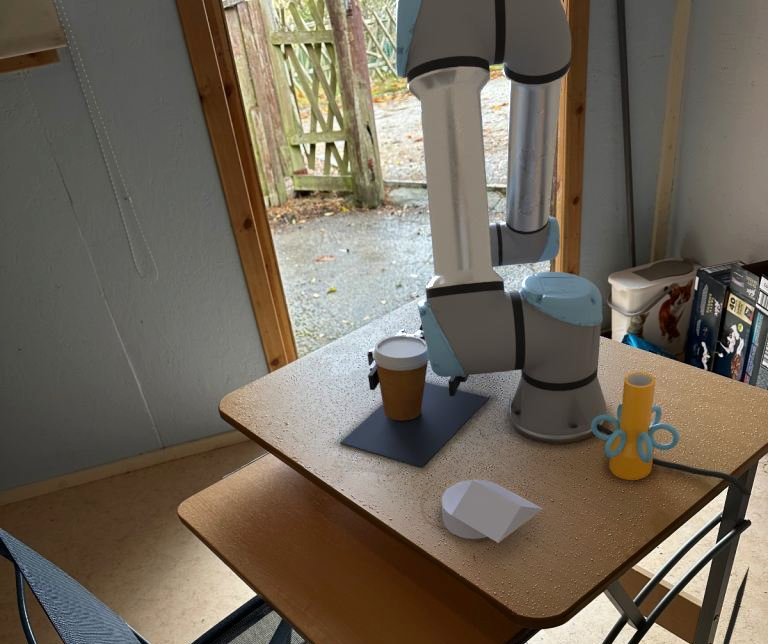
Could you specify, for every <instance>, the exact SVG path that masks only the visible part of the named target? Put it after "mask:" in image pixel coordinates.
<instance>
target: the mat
mask: <svg viewBox="0 0 768 644" xmlns="http://www.w3.org/2000/svg"><path fill="white" fill-rule="evenodd" d="M489 400H490V397H489V396H485V395H481V394H477V393H472V392H468V391H465V390H460V389H457V391H456V393H455V395H454V396H449V386H448V387H447V386H444V385H443V386H442V385H439V384H435V383H430V382H426V381H425V386H424V393H423V400H422V407H421V413H420V415H419V416H418V417H416V418H414V419H411V420H394V419H391V418H389V417H387V416H386V415H385V413H384V407H383V403H382V404H381V405H380V406H379V407H378V408H376V409H375V410H374V411H373V412H372V413H371V414H370V415H369V416H367V418H365V419H364V420H363V421H362V422H361V423H360V424H359V425H358V426H357V427H355V428H354V429H353V430H352V431H351V432H350V433H349V434H347V435H346V436H345V437H344V438H343V439H341V440H340V442H339V444H341V445H344V446H347V447H351V448H353V449H356V450H360V451H364V452H367V453H370V454H373V455H377V456H381V457H383V458H387V459H391V460H394V461H397V462H400V463H404V464H407V465H410V466H413V467H417V468H420V469H423V468H424V467H425V466H426V465H427V464H428V463H429V462H430V461H431V460H432V459H433V458H434V457H435V456H436V455H437V454H438V453H439V451H441V450H442V449H443V447H444V446H446V444H447V443H448V442H449V441H450V440H452V438H453V437H454V436H455V435H456V434H457V433H458V432H459V431H460V430H461V429H462V428H463V427H464V425H466V424H467V422H469V420H471V418H473V416H474V415H475V414H476V413H477V412H478V411H479V410H480V409H481V408H482V407H483V406H484V405H485V404H486V403H487V402H488V401H489Z"/></svg>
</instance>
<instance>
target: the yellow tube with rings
mask: <svg viewBox="0 0 768 644" xmlns="http://www.w3.org/2000/svg"><path fill="white" fill-rule="evenodd" d="M623 379H624V380H623V390H622V401H621V402H620V403H619V404H618V405H617V410H616V417H617V418H616V417H615V416H613V415H609V414H606V415H599V416H597V417H595V418H594V419H593V421H592V423H591V429H592V432H593V433H594V436H595V437H596V438H598V439H600V440H603V441H605V445H604V455H605V456H606V457H607V458H609V465H608V467H609V470H610V472H611V473H612V474H613V475H614V476H615V477H617V478H619V479H623V480H627V481H636V480H637V481H638V480H642V479H644V478H646V477H648V476H649V475H650V474H651V472H652V469H653V464H652V462H653V458H654V456H655V455H654V454H655V449H658V450H660V451H668V450H671V449H673V448H675V447H676V446H677V445H678V444H679V440H680V434H679V432H678V430H677V429H676V428H675V427H674V426H672V425H671V424H668V423H660V421H661V418H662V409H661V406H658V405H653V404H654V397H655V396H654V395H655V386H656V378H655V376H653V374H650V373H647V372H640V371H638V372H637V371H636V372H631V373H629V374H627V375H626V376H624V378H623ZM653 413H655V416H654V419H653V421H652V422H651V420H652V414H653ZM601 420H606V421H608V422H610V423H612V425H613V426H614V431H613V433H612V434H611V435H607V434H605V433H603V432H601V431H598V430H597V423H598V422H599V421H601ZM658 430H665V431H667V432H669V433H670V434H671V435H672V441H671V442H668V443H666V444H664V443H663V444H662V443H659V442H657V441H656V440H655V438H654V434H655V432H656V431H658Z"/></svg>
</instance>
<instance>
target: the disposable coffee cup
mask: <svg viewBox="0 0 768 644" xmlns="http://www.w3.org/2000/svg"><path fill="white" fill-rule="evenodd" d="M374 347H375V350H374V351H373V358H374V360H375V362H376V366H377V372H378V378H379V383H378V384H379V389H380V395H381V401H382V404H383V407H384V413H385V415H386V416H387V417H389V418H391V419H394V420H411V419H414V418H416V417H418V416H419V415H420V413H421V407H422V400H423V393H424V386H425V382H426V377H427V372H428V364H429V362H430V359H429V355H428V350H427V346H426V341H424V340H423V339H421V338H418V337H414V336H405V335H401V336H395V335H392V336H388V337H384V338H382V339H380V340H378V342H377V343H376V344H375V346H374Z"/></svg>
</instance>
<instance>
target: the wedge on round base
mask: <svg viewBox="0 0 768 644" xmlns="http://www.w3.org/2000/svg"><path fill="white" fill-rule="evenodd" d="M441 509H442V520H443V521H442V522H443V525H444V527H445V529H447V531H448V532H450V533H451V534H453V535H455V536H457V537H459V538H463V539H468V540H477V539H484V538H485V539H486V538H489V539H491V540H492V541H494V542H496V543H498V544H499V543H500V542H502V541H503V540H505V538H507V537H508V536H510V535H511V534H512V533H513V532H515V531H516V530H518V529H519V528H520V527H521V526H523V525H524V524H525V523H527V522H528V521H529V520H531V519H532V518H533V517H535V516H536V515H537V514H539V513H540V512H541V511H542V510H544V508H543V507H541V506H539V505H538V504H535V503H533V502H531V501H529V500H528V499H525V498H524V497H522V496H520V495H518V494H516V493H514V492H512V491H510V490H509V489H507V488H505V487H503V486H501V485H499V484H497V483H495V482H493V481H490V480H486V479H480V478H479V479H478V478H475V479H474V478H472V479H466V480H465V479H464V480H461V481H458V482H456V483H454V484H452V485H451V486H449V487H447V489H445V491H444V492H443V494H442V497H441Z"/></svg>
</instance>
